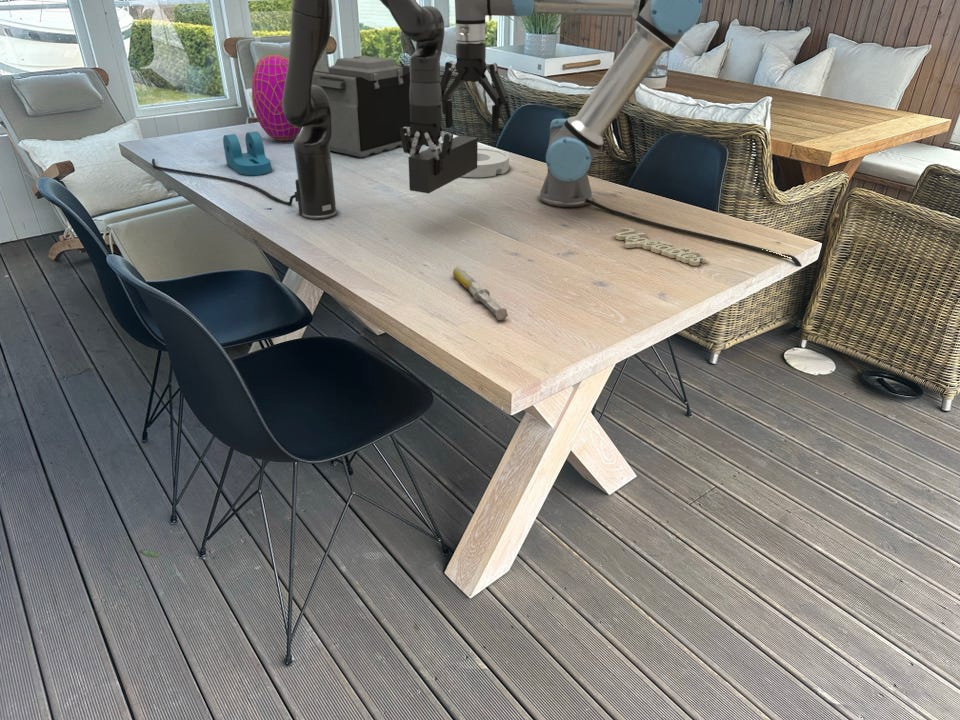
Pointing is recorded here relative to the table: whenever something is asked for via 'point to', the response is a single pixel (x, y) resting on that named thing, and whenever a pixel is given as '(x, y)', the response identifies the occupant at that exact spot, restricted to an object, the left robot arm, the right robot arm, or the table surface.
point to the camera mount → (246, 154)
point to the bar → (453, 166)
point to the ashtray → (489, 163)
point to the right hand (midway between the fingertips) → (471, 129)
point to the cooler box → (366, 104)
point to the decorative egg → (272, 97)
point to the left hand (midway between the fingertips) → (427, 172)
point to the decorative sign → (659, 247)
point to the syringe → (479, 293)
